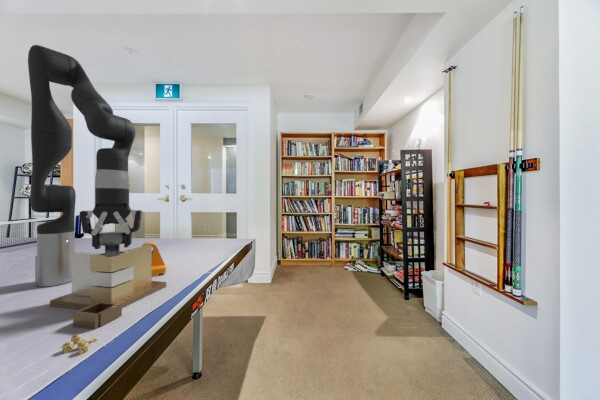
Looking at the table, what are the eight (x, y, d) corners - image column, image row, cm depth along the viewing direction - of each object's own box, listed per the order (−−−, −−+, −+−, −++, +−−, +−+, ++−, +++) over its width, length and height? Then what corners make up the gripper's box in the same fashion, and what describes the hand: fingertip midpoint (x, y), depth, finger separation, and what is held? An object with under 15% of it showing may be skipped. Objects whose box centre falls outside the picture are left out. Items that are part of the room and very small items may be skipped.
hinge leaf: (133, 292, 71) (133, 252, 71) (111, 301, 65) (111, 258, 64) (86, 287, 74) (86, 249, 74) (60, 296, 68) (60, 255, 68)
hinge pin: (92, 288, 66) (92, 234, 66) (113, 280, 72) (113, 231, 72) (111, 289, 65) (111, 234, 65) (130, 282, 71) (131, 231, 71)
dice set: (84, 357, 46) (84, 346, 46) (54, 359, 46) (54, 348, 46) (102, 341, 51) (102, 332, 51) (75, 343, 51) (75, 333, 51)
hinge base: (13, 318, 59) (13, 261, 59) (115, 282, 85) (115, 242, 85) (96, 329, 55) (96, 267, 55) (176, 287, 81) (176, 245, 80)
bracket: (132, 280, 88) (132, 246, 88) (132, 274, 94) (132, 243, 94) (166, 274, 94) (166, 243, 94) (164, 270, 100) (164, 240, 100)
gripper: (73, 186, 62) (73, 252, 62) (140, 187, 68) (140, 248, 68) (85, 187, 69) (85, 247, 69) (145, 188, 75) (145, 243, 75)
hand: (112, 247), depth 68 cm, fingers closed on hinge pin, 6 cm apart
